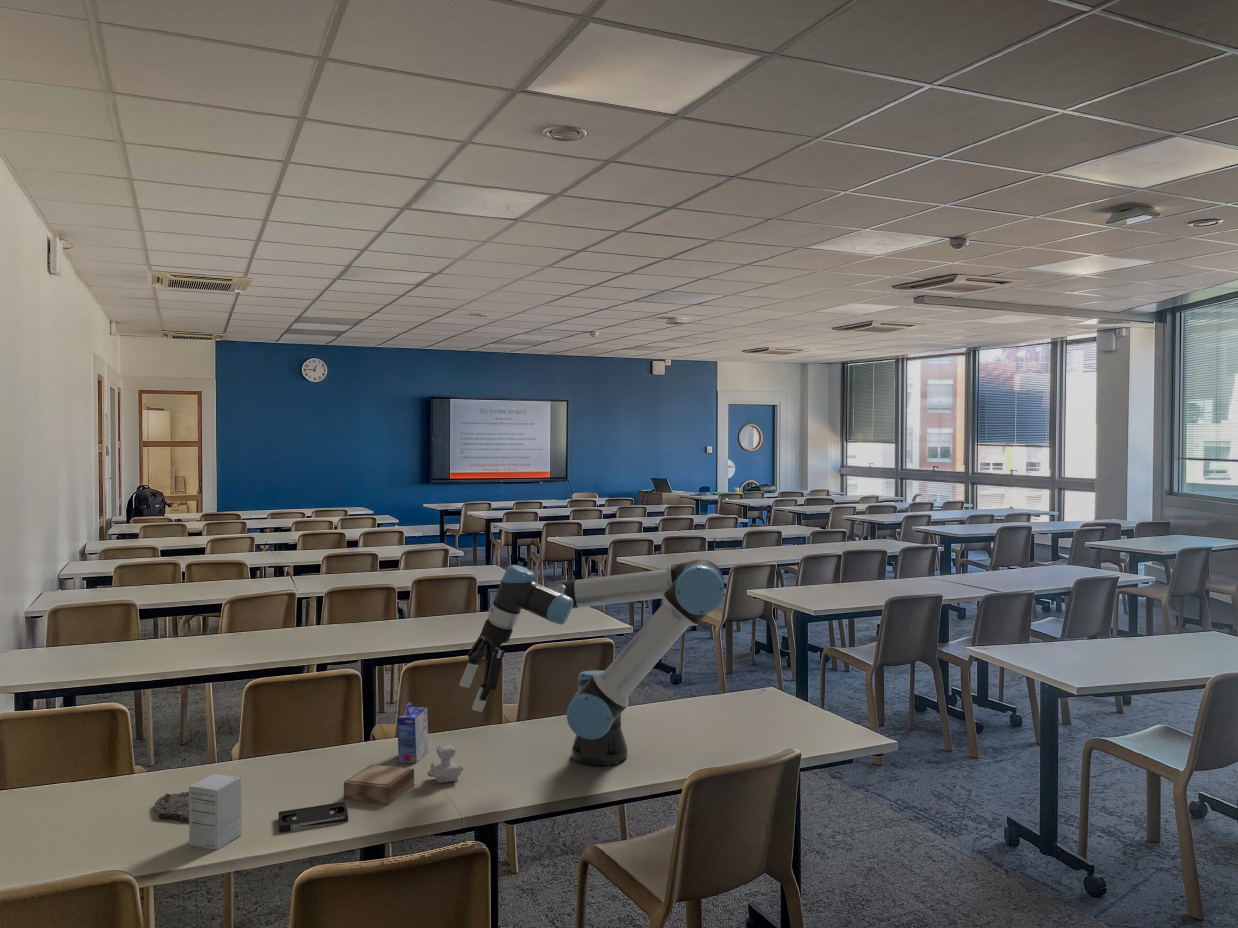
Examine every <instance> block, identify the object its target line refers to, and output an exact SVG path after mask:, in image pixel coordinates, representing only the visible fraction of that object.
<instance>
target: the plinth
mask: <svg viewBox="0 0 1238 928" xmlns="http://www.w3.org/2000/svg"><path fill="white" fill-rule="evenodd" d="M413 785H414V786H415V768H408V767H398V766H397V767H396V766H389V765H380V764H379V765H378V764H369V765H368V766H366V767H364V769H362V770H360V771H359V772H357V773H356V774H354V775H352V776H351V777H350V778H348V779H347V780H345V781H344V782H343V800H349V801H357V802H358V801H359V802H365V803H374V804H383V805H390V804H392V803H393V802H394V801H396V800H397V799H399V798H400V797H401V796H402V795H403V794H404V793H406V792H407V791H408V790H410V789H411V788H412V787H414V786H413Z"/></svg>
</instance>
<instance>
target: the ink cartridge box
mask: <svg viewBox="0 0 1238 928" xmlns="http://www.w3.org/2000/svg"><path fill="white" fill-rule="evenodd" d="M404 707H405V709H406V710H404V712H403V713H401V715H399V716H398V717H397V719H396V721H397V723H396V724H397V726H396V727H397V749H398V750H397V752H398V754H397V755H398V756H397V757H398V763H405V762H407V763H408V764H417V763H418V762H419V761H420V760H421V759H422V758H423V757H424V755H425V754H427V752H428V751H429V731H428V727H429V726H428V724H429V723H428V707H427V706H426V707H425V706H423V707H421V706H413V704H412V702H411V701H408V702H407V703H406V704H405V705H404ZM407 763H406V764H407Z"/></svg>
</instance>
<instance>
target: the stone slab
mask: <svg viewBox="0 0 1238 928" xmlns="http://www.w3.org/2000/svg"><path fill="white" fill-rule="evenodd" d="M152 811H153V812H156V811H157V813H158V819H159V820H174V819H175V820H178V821H180V822H181V823H188V824H189V791H185V792H184V791H182V792H181V793H180V792H179V793H173V794H171V793H167V792H166V793H165V794H164V795H163V796H160V797H159V798H158V799H157V800H156V802H155V803H154V806H153V808H152Z"/></svg>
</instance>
